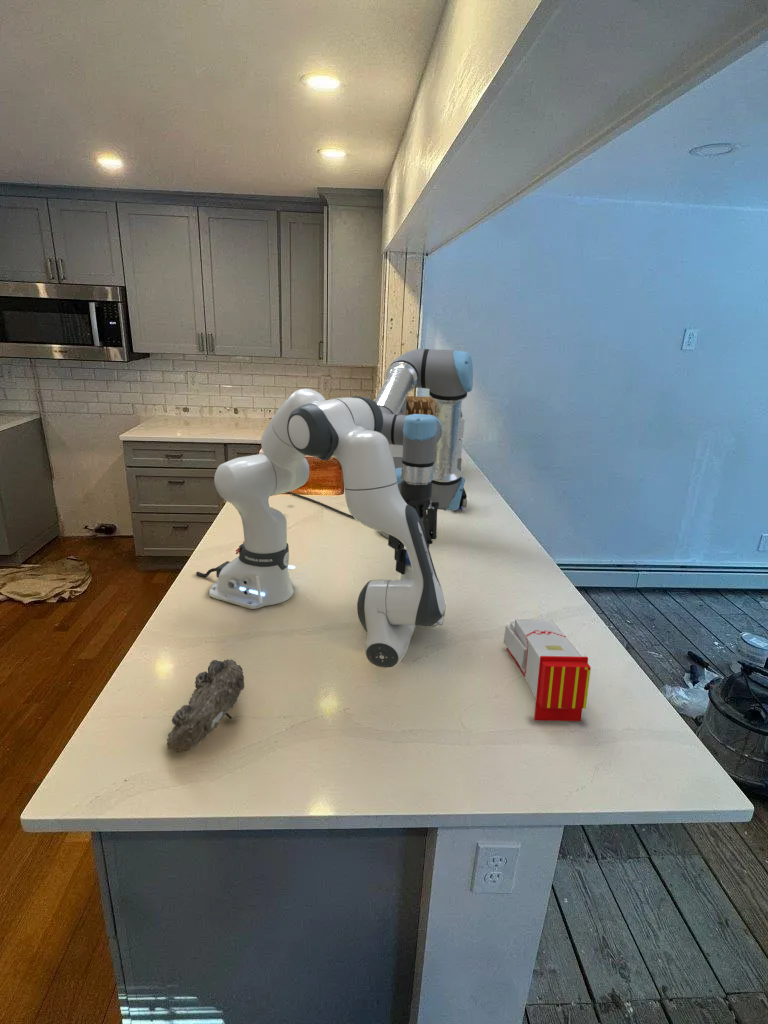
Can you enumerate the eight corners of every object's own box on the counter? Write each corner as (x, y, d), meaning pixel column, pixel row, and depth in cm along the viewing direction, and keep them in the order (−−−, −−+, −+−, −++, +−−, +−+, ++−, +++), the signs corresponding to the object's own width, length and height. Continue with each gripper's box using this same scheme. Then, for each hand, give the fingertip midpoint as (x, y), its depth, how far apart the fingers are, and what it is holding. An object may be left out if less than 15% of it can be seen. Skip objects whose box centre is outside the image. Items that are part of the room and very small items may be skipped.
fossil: (192, 660, 117) (244, 628, 112) (224, 691, 120) (276, 661, 115) (142, 746, 98) (202, 712, 93) (182, 779, 101) (242, 748, 96)
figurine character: (467, 516, 223) (461, 500, 237) (469, 499, 220) (463, 483, 233) (450, 516, 223) (446, 499, 236) (452, 498, 220) (447, 483, 233)
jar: (420, 613, 148) (424, 555, 142) (413, 623, 144) (417, 563, 138) (402, 609, 150) (405, 552, 144) (395, 618, 145) (398, 559, 140)
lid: (428, 559, 142) (429, 553, 141) (414, 567, 137) (414, 561, 137) (408, 552, 145) (409, 546, 145) (394, 560, 141) (394, 554, 140)
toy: (549, 604, 136) (599, 663, 106) (544, 656, 138) (591, 727, 109) (499, 603, 135) (535, 662, 106) (495, 655, 138) (529, 726, 109)
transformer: (382, 463, 289) (386, 382, 275) (445, 464, 293) (451, 384, 279) (390, 482, 257) (394, 392, 243) (460, 483, 261) (468, 394, 247)
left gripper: (443, 614, 129) (451, 587, 142) (357, 601, 134) (372, 576, 146) (441, 638, 132) (449, 610, 144) (356, 624, 136) (371, 597, 149)
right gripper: (436, 471, 143) (430, 555, 150) (374, 482, 132) (371, 572, 140) (457, 479, 137) (449, 566, 145) (394, 491, 126) (389, 584, 134)
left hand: (409, 592), depth 145 cm, fingers closed on jar, 5 cm apart
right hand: (410, 569), depth 142 cm, fingers closed on lid, 6 cm apart
